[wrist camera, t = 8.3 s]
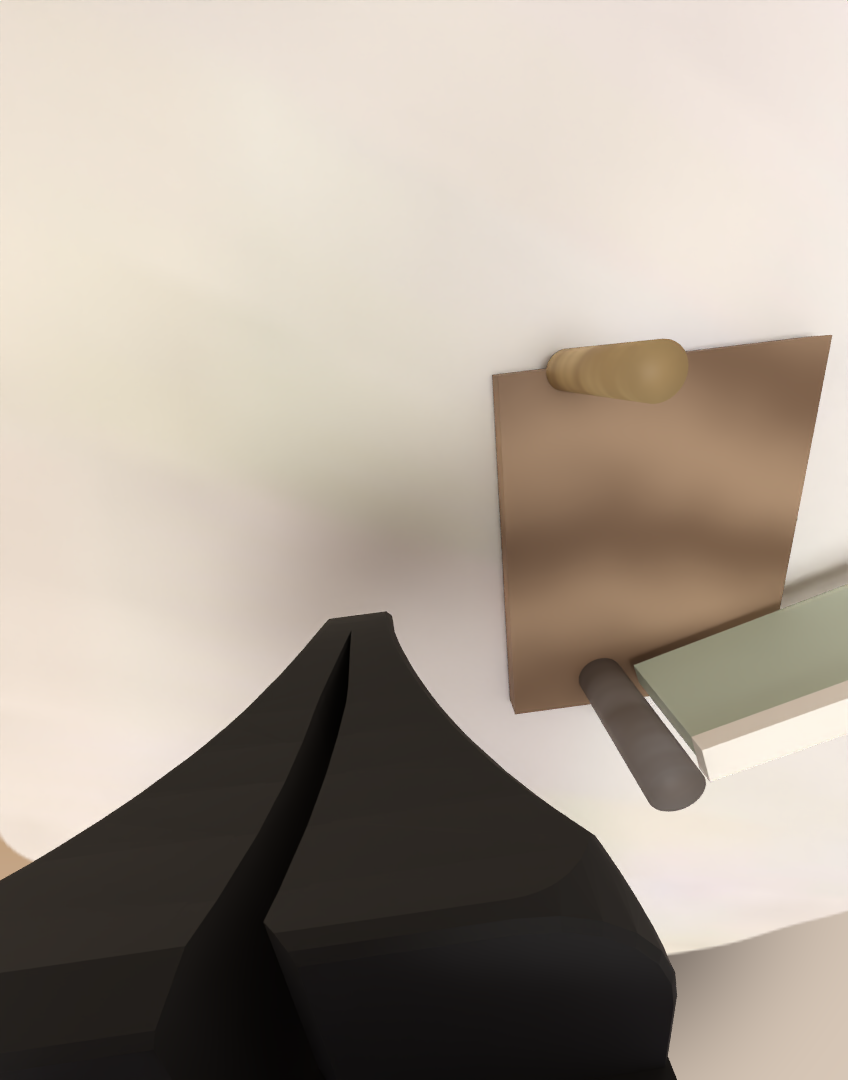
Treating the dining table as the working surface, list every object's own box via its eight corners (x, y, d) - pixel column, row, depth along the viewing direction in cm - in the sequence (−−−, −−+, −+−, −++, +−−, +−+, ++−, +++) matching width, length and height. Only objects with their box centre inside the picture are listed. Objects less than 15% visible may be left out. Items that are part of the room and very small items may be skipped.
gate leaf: (638, 687, 21) (710, 782, 16) (629, 660, 20) (702, 750, 15) (888, 594, 20) (1042, 665, 15) (887, 563, 19) (1047, 626, 14)
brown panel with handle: (750, 667, 23) (896, 789, 16) (510, 699, 22) (559, 837, 16) (811, 318, 17) (1074, 288, 10) (491, 357, 17) (555, 351, 10)
